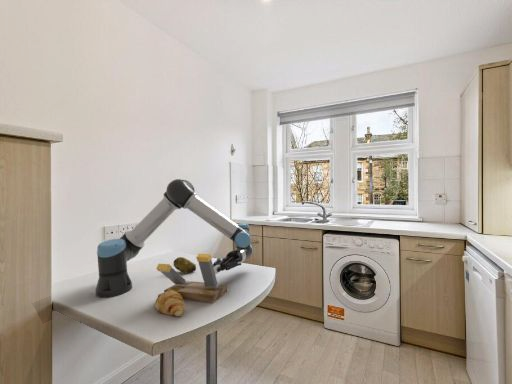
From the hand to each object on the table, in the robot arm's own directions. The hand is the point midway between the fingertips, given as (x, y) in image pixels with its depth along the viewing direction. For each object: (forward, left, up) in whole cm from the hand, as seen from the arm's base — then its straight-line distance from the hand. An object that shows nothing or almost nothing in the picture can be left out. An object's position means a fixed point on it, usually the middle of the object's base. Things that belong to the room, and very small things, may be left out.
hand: (211, 272), depth 110 cm
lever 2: (0, 0, -6) cm, 6 cm away
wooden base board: (-3, +8, -10) cm, 13 cm away
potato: (+12, +41, -10) cm, 44 cm away
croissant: (-17, +5, -10) cm, 21 cm away
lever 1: (-5, +15, -6) cm, 17 cm away
